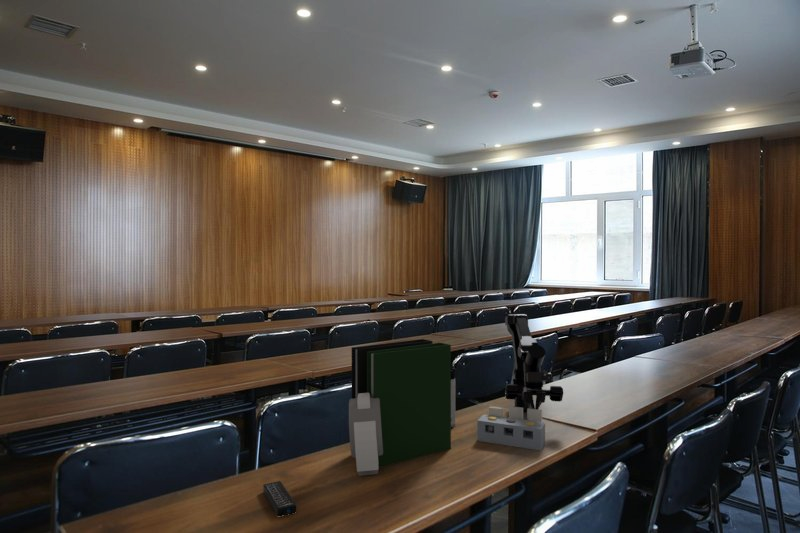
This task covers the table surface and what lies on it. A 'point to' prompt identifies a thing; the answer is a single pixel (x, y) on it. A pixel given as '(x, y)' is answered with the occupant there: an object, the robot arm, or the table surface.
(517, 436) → the console
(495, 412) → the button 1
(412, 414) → the binder
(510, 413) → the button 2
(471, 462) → the table surface
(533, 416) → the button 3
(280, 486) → the multiport hub
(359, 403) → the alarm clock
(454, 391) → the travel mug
